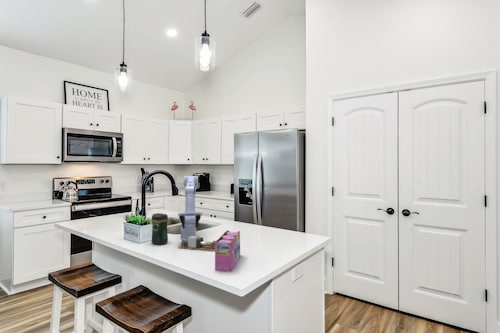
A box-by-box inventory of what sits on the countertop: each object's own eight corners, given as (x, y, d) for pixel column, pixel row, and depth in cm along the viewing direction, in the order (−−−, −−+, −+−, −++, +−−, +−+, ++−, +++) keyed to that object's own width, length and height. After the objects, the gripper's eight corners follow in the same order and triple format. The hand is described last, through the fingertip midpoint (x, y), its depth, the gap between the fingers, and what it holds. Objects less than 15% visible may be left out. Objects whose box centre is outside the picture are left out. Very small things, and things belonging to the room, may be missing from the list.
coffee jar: (170, 242, 180) (170, 213, 180) (160, 246, 173) (160, 215, 173) (158, 240, 185) (158, 211, 184) (149, 243, 178) (149, 213, 177)
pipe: (181, 244, 172) (181, 240, 172) (183, 243, 174) (183, 239, 174) (214, 247, 167) (214, 243, 167) (215, 246, 169) (215, 242, 169)
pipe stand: (178, 248, 169) (178, 241, 169) (185, 244, 177) (185, 237, 177) (213, 251, 163) (213, 243, 163) (218, 246, 172) (218, 239, 172)
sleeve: (188, 247, 169) (188, 237, 169) (191, 244, 174) (192, 235, 174) (195, 247, 168) (195, 238, 168) (199, 245, 173) (199, 235, 173)
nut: (196, 247, 168) (196, 239, 168) (200, 245, 173) (200, 237, 173) (199, 248, 167) (199, 240, 167) (203, 245, 173) (203, 237, 172)
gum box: (227, 254, 159) (227, 229, 158) (241, 255, 157) (241, 230, 157) (214, 270, 135) (214, 241, 135) (230, 271, 134) (231, 242, 134)
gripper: (176, 205, 171) (176, 228, 168) (200, 204, 171) (200, 227, 168) (179, 206, 178) (179, 229, 174) (202, 205, 178) (202, 228, 175)
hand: (189, 228), depth 172 cm, fingers open, 7 cm apart
